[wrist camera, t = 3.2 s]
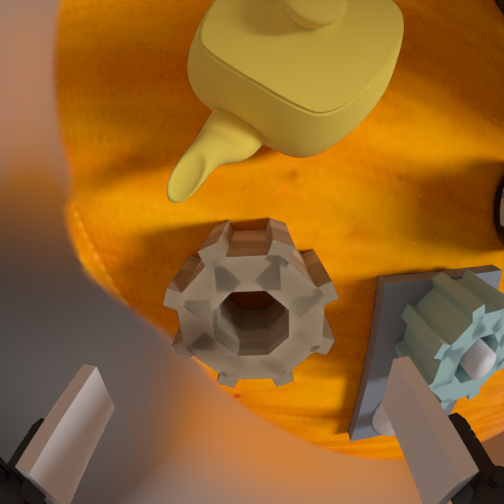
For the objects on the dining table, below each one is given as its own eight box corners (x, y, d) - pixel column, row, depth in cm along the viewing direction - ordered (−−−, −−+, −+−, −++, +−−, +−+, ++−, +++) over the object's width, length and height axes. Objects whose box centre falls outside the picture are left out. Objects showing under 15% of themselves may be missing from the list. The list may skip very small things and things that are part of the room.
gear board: (378, 270, 22) (429, 324, 13) (494, 259, 21) (550, 293, 13) (347, 435, 28) (361, 491, 20) (443, 411, 27) (467, 455, 19)
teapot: (276, 224, 21) (292, 286, 11) (150, 142, 19) (59, 133, 9) (401, 48, 16) (480, -3, 6) (286, -26, 14) (299, -112, 4)
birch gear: (180, 222, 21) (152, 245, 15) (319, 215, 20) (341, 236, 15) (197, 339, 24) (182, 386, 18) (316, 335, 23) (329, 382, 18)
